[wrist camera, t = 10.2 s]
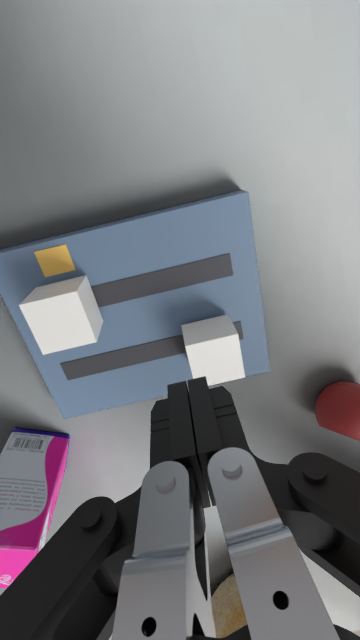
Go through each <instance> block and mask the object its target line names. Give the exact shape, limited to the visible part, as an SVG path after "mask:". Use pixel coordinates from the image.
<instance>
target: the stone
mask: <svg viewBox="0 0 360 640" xmlns="http://www.w3.org/2000/svg"><path fill="white" fill-rule="evenodd" d="M211 607H212V614H213V620H214V626H215V632H216V638H224V637H226V636H228V635H230V634H232V633H233V632H235V631H237V630H238V629H240V628H242V627H243V626H245V625H247V620H246V616H245V612H244V609H243V605H242V601H241V597H240V593H239V590H238V586H237V582H236V578H235V574H234V573H233V574H231V575H230V576H228V577H227V578H226V579H225V580H224V581H223V582H222V583H221V584H220V585H219V587H218V588H217V589H216V591H215V592H214V594H213V595H212V596H211Z"/></svg>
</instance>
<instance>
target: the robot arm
mask: <svg viewBox="0 0 360 640" xmlns="http://www.w3.org/2000/svg"><path fill="white" fill-rule="evenodd" d="M187 382H188V386H187ZM187 382H186V381H182V382H178V383H173V384H169V385H167V390H168V399H163V400H159V401H156V403H155V405H154V407H153V409H152V411H151V438H150V470H149V471H148V472H147V474H146V475H145V477H144V479H143V482H142V486H141V487H140V488H139V489H138V490H137V491H135V492H134V493H133V494H131V495H129V496H127V497H126V498H124V499H122V500H120V501H118V502H116V503H114V502H113V501H112V500H111V499H110V498H107V497H95V498H92V499H89V500H87V501H86V502H84V503H83V504H82V505H80V506H79V507H78V508H77V509H76V510H75V511H74V513H73V514H72V515H71V516H70V517H69V518H68V519H67V521H66V522H65V523H64V524H63V525H62V526H61V527H60V529H59V530H58V531H57V532H56V533H55V534H54V535H53V536H52V538H51V539H50V540H49V541H48V542H47V543H46V544H45V546H44V547H43V548H42V549H41V550H40V551H39V552H38V554H37V555H36V556H35V557H34V558H33V559H32V560H31V562H30V563H29V564H28V565H27V566H26V567H25V568H24V570H23V571H22V572H21V573H20V574H19V575H18V576H17V577H16V579H15V580H14V581H13V582H12V583H11V584H10V585H9V587H8V588H7V589H6V590H5V591H4V592H3V593H2V595H1V596H0V640H108V639H109V638H110V636H111V635H112V640H360V637H359V636H357V635H355V634H354V633H352V632H350V631H349V630H347V629H344V628H342V627H340V626H337V625H335V624H333V623H332V621H331V619H330V617H329V614H328V612H327V610H326V608H325V605H324V603H323V601H322V599H321V597H320V594H319V592H318V590H317V588H316V586H315V583H314V581H313V579H312V577H311V574H310V572H309V570H308V568H307V566H306V563H305V561H304V559H303V557H302V555H301V552H300V550H301V551H302V552H303V553H304V554H305V555H306V556H307V557H308V558H310V559H311V560H312V561H314V562H315V563H316V564H318V565H319V566H320V567H321V568H323V569H324V570H325V571H327V572H328V573H329V574H331V575H332V576H333V577H334V578H336V579H337V580H338V581H340V582H341V583H342V584H343V585H345V586H346V587H347V588H349V589H350V590H351V591H353V592H354V593H355V594H356V595H358V596H359V597H360V473H359V472H357V471H355V470H353V469H351V468H349V467H347V466H345V465H343V464H341V463H339V462H337V461H335V460H333V459H331V458H329V457H327V456H325V455H322V454H319V453H303V454H300V455H298V456H296V457H294V458H293V459H292V460H291V461H290V463H289V465H286V464H274V463H269V462H265V461H263V460H261V459H259V458H257V457H256V456H255V455H254V454H253V453H252V452H251V451H250V449H249V447H248V444H247V441H246V438H245V435H244V432H243V429H242V426H241V423H240V420H239V417H238V414H237V411H236V408H235V406H234V402H233V399H232V396H231V394H230V393H229V392H228V391H227V390H226V389H225V388H224V387H223V386H221V387H216V388H212V389H209V388H208V384H207V380H206V376H204V377H199V378H195V379H190V380H187ZM208 491H209V494H208ZM209 495H210V499H211V502H212V506H215V505H217V509H218V513H219V517H220V521H221V524H222V528H223V532H224V536H225V540H226V544H227V548H228V551H229V555H230V559H231V563H232V567H233V571H234V574H235V578H236V582H237V586H238V590H239V593H240V597H241V601H242V605H243V609H244V612H245V616H246V620H247V625H245V626H243V627H242V628H240V629H238V630H237V631H235V632H233V633H232V634H230V635H228V636H226V637H224V638H216V632H215V626H214V620H213V614H212V607H211V593H210V578H209V563H208V548H207V534H206V530H205V527H206V526H205V517H204V510H203V508H207V507H211V506H210V500H209ZM298 547H299V548H298ZM299 549H300V550H299Z"/></svg>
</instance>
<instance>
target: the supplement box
mask: <svg viewBox="0 0 360 640" xmlns="http://www.w3.org/2000/svg"><path fill="white" fill-rule="evenodd" d="M69 439H70V436H69V435H68V434H61V433H53V432H44V431H36V430H28V429H20V428H14V429H13V431H12V433H11V434H10V436H9V438H8V440H7V442H6V444H5V446H4V448H3V450H2V452H1V454H0V588H8V587H9V585H10V584H11V583H12V582H13V581H14V580H15V579H16V577H17V576H18V575H19V574H20V573H21V572H22V571H23V570H24V568H25V567H26V566H27V565H28V564H29V563H30V562H31V560H32V559H33V558H34V557H35V556H36V555H37V554H38V552H39V551H40V550H41V549H42V548H43V547H44V545H45V541H46V537H47V534H48V530H49V526H50V523H51V519H52V515H53V512H54V508H55V505H56V501H57V497H58V494H59V490H60V487H61V483H62V479H63V476H64V472H65V466H66V460H67V453H68V446H69Z"/></svg>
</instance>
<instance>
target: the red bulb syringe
mask: <svg viewBox="0 0 360 640" xmlns="http://www.w3.org/2000/svg"><path fill="white" fill-rule="evenodd" d="M315 414H316V418H317V421H318V423H319V425H320V426H322V427H324V428H327V429H329V430H332V431H335V432H337V433H340V434H343V435H346V436H348V437H351V438H354V439H357V440H360V385H359V384H357V383H353V382H336V383H333V384H330V385H329V386H327V387H326V388H325V389H324V390H323V391H322V392H321V393H320V395H319V396H318V398H317V401H316V405H315Z"/></svg>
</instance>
